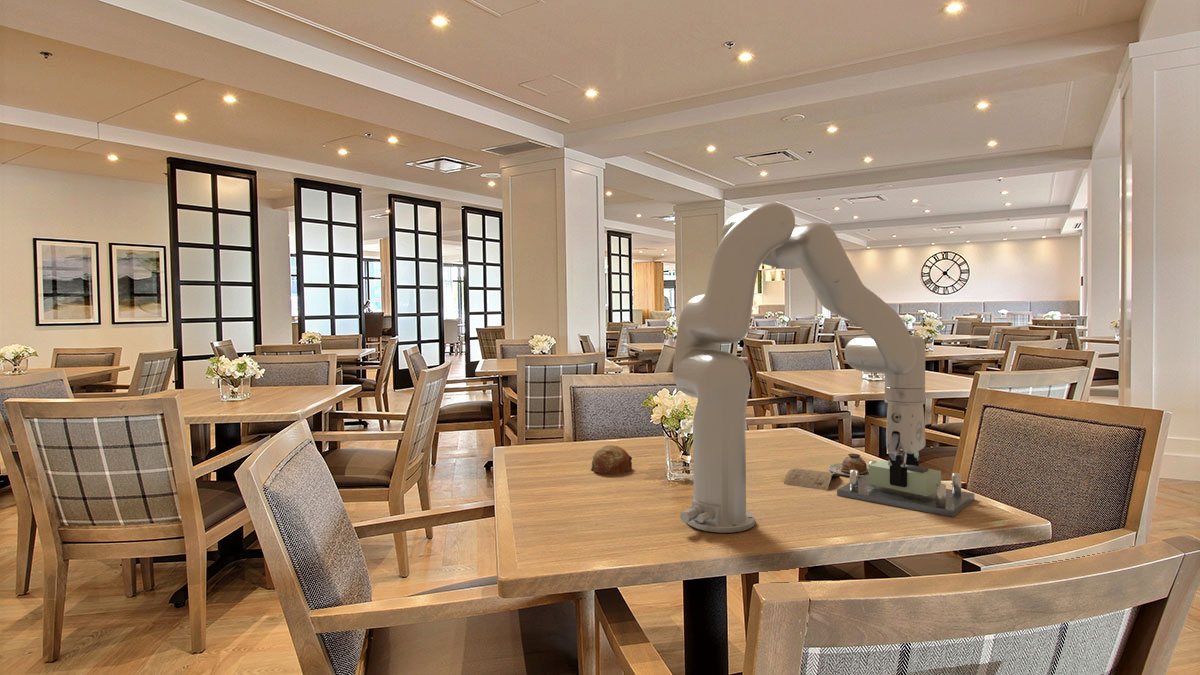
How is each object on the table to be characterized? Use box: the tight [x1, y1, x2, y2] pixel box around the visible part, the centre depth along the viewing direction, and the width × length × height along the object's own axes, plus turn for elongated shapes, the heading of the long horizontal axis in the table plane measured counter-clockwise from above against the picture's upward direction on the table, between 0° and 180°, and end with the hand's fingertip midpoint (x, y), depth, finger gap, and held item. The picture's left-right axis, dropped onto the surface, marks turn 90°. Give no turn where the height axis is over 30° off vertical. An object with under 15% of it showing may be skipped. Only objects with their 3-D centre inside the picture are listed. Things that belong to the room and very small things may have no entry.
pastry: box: [828, 453, 869, 478], centre depth 151 cm, size 12×12×5 cm
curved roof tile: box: [783, 467, 841, 491], centre depth 144 cm, size 14×10×3 cm
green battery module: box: [868, 459, 942, 496], centre depth 130 cm, size 6×12×5 cm, turn 38°
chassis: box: [836, 460, 975, 518], centre depth 130 cm, size 15×22×5 cm
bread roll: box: [590, 444, 633, 475], centre depth 157 cm, size 10×10×8 cm
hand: (904, 481), depth 130 cm, fingers closed on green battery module, 6 cm apart
